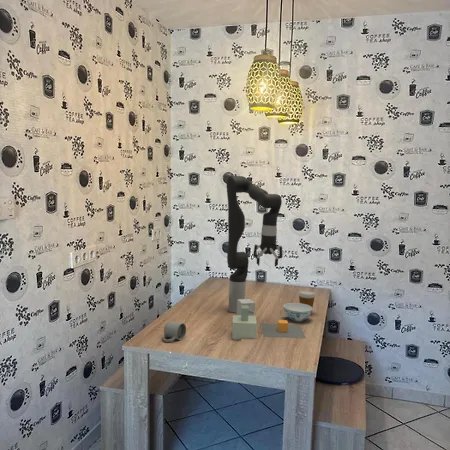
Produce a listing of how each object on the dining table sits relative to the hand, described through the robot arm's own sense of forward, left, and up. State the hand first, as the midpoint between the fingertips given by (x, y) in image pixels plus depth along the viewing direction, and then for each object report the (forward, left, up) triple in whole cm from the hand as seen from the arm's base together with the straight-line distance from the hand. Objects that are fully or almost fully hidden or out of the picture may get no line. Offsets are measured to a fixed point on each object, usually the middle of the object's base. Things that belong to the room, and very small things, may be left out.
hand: (267, 265), depth 218 cm
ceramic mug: (-43, -23, -31) cm, 58 cm away
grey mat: (+8, -10, -31) cm, 33 cm away
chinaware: (+18, +8, -31) cm, 37 cm away
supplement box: (-10, -1, -31) cm, 33 cm away
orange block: (+8, -10, -30) cm, 32 cm away
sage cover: (-11, -16, -31) cm, 36 cm away
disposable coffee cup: (+25, +22, -31) cm, 46 cm away
